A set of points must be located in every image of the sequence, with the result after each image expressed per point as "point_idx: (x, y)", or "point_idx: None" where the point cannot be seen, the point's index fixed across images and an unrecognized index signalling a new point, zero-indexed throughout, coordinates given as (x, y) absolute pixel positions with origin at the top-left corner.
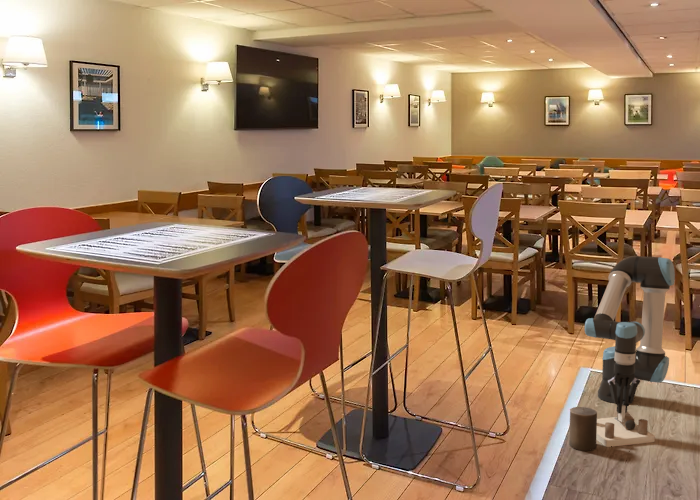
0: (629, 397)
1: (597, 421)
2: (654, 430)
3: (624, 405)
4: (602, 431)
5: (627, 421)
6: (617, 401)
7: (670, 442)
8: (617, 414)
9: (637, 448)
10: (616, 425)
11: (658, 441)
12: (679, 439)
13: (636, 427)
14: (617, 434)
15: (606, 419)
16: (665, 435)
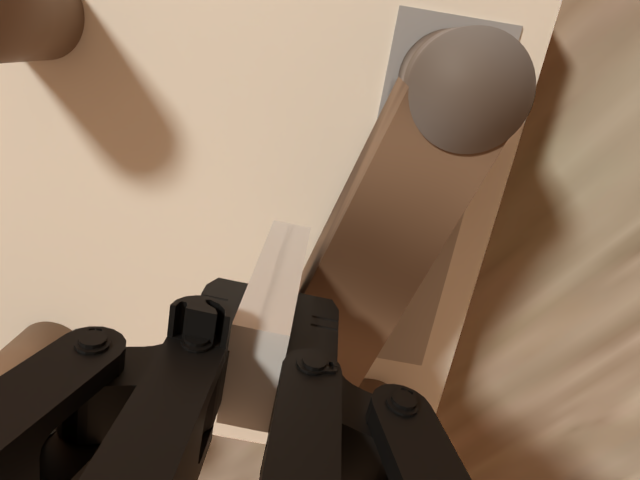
0: (425, 476)
1: (149, 12)
2: (617, 288)
3: (265, 415)
4: (54, 250)
5: None
6: (85, 463)
7: (511, 476)
8: (405, 67)
9: (221, 452)
10: (274, 191)
11: (448, 436)
12: (619, 470)
13: (415, 309)
14: (147, 345)
15: (287, 2)
16: (598, 389)
